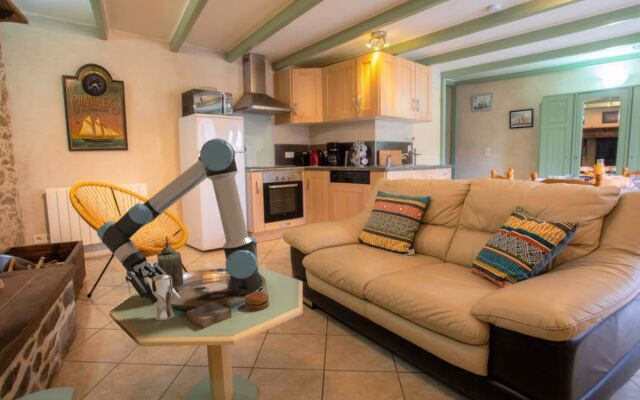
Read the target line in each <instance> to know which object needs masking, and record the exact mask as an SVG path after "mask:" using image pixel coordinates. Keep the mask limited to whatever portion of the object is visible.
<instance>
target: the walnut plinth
mask: <svg viewBox="0 0 640 400" xmlns="http://www.w3.org/2000/svg"><path fill="white" fill-rule="evenodd" d="M186 318H187V320H188V321H190V322H191V323H194V324H195V325H197V326H199V327H200V328H201V329H205V328H206V329H207V328H208V327H211V326H213V325H215V324H218V323H221V322H222V321H223V322H224V321H225V320H228V319H230V318H232V309H231V308H229V307H226V306H225V305H223V304H220V303H218V302H215V301H213V302H210V303H207V304H204V305H200V306H198V307H195V308H193V309H189V310H187V311H186Z"/></svg>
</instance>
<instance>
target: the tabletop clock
mask: <svg viewBox="0 0 640 400" xmlns="http://www.w3.org/2000/svg"><path fill="white" fill-rule="evenodd" d="M165 242H166V243H165V247H163V248H162V250H161V251H160V252H157V253H156V256H157V257H156V259H157V263H158V265H159V267H160V268H161V269H162V270H163V271H164V272H165V273H166V274H167V275H171V279H172V280H173V281H172V287H173V288H174V289H175V291H176V292H177V294H178V293H179V291H180V289H178V288H180V287H181V286H183V285H184V275H183V274H184V273H183V261H182V255H181V252H179V251H177V250H175V249H174V248H173V246H172V247H171V246H169V239H168V236H165Z"/></svg>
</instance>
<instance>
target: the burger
mask: <svg viewBox="0 0 640 400" xmlns="http://www.w3.org/2000/svg"><path fill="white" fill-rule="evenodd" d="M269 298H270V296H269V294H268V292H264V291H258V292H253V293H250V294H247V295H245V297H244V301H245V303H244V307H245V308H246V309H247V310H250V311H251V310H257V311H258V310H264V309H266V308H268V307H269V306H270V301H269Z"/></svg>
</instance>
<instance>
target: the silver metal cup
mask: <svg viewBox="0 0 640 400" xmlns="http://www.w3.org/2000/svg"><path fill="white" fill-rule="evenodd" d="M150 280H151V282H150V287H151V289H152V293H153V292H156V293H157V294H158V296H159V297H160V298H161V299H162V300H163V301H164V302H165V304H166V305H167V306H166V307H165V308H164V309H163V310H162V311H161V310H160V309H159V308H158V306H157V305H156V304H155V303H153V304H154V307H155V316H154V320H156V321H158V322H159V321H161V322H163V321H168V320H170V319H172V318H173V317H174V311H173V309H172V301H173V299H172V293H173V287H172V280H171V275H158V276H154V277H152V278H150Z"/></svg>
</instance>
